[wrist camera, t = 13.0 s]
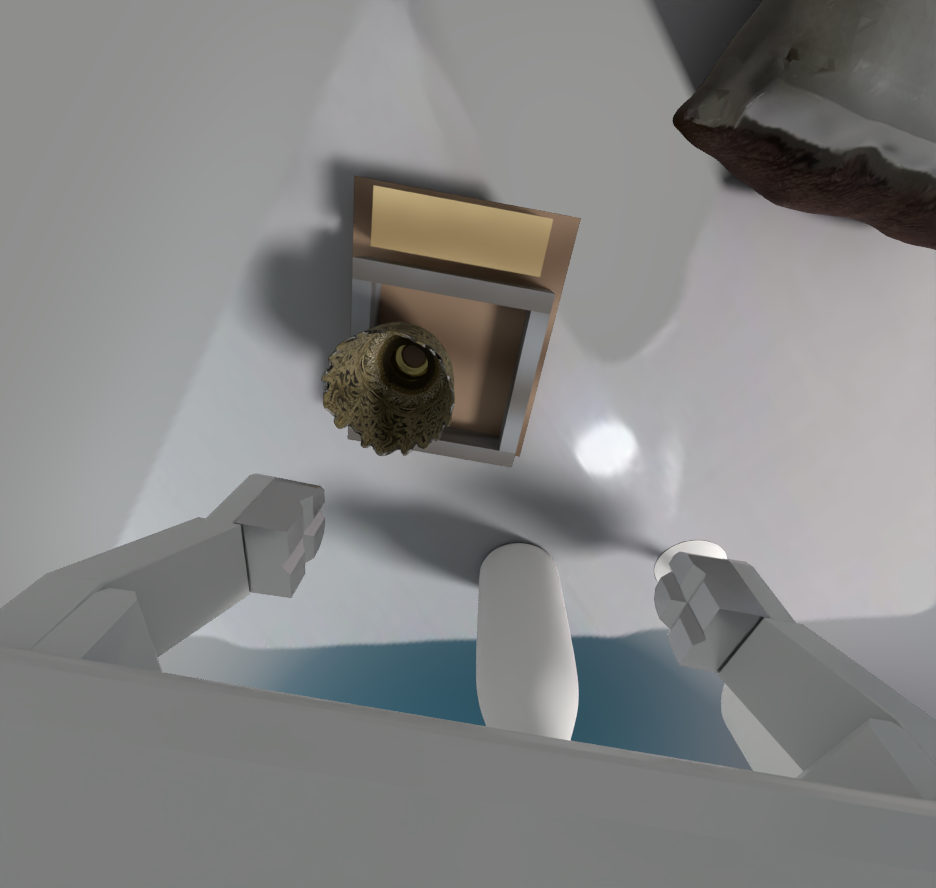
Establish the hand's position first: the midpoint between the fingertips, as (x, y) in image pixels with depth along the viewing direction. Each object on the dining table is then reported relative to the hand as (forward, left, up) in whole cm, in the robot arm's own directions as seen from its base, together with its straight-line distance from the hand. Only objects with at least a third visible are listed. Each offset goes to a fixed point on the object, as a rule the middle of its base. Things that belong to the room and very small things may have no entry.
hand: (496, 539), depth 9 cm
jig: (0, -3, -23) cm, 23 cm away
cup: (+2, -6, -21) cm, 22 cm away
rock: (-16, +17, -23) cm, 33 cm away
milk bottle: (+22, +7, -23) cm, 33 cm away
